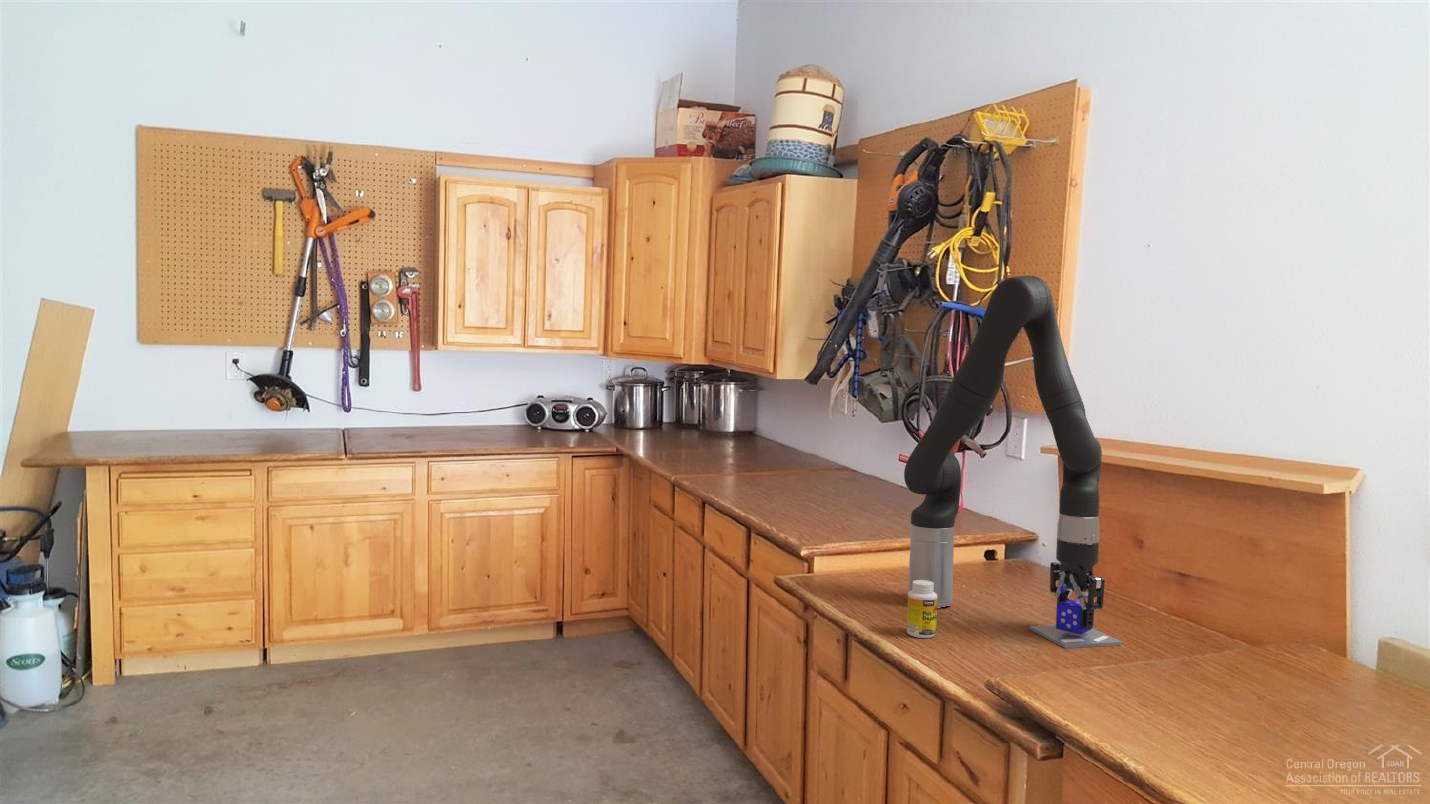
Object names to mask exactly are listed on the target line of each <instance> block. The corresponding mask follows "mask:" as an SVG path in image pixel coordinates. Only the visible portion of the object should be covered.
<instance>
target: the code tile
mask: <svg viewBox="0 0 1430 804" xmlns="http://www.w3.org/2000/svg"><path fill="white" fill-rule="evenodd" d="M1028 629H1029V630H1030V631H1032V632H1034V633H1035V634H1037V635H1039V636H1041V637H1042V638H1045V639H1047V640H1049V641H1051V642H1053V643H1054V644H1056V645H1059V647H1062V648H1064V649H1074V648H1075V649H1078V648H1093V647H1095V648H1096V647H1110V646H1111V647H1112V646H1113V647H1115V646H1123V641H1121V640H1120V639H1117V638H1115V637H1112V636H1111V635H1108V634H1106V633H1104V632H1102V631H1099V630H1098V629H1095V628H1094V627H1093V628H1092V629H1091V630H1089V631H1087V632H1085V633H1083V634H1076V633H1072V632H1068V631H1063V630H1059V629H1056V624H1053V625H1051V624H1050V625H1030V626H1028Z"/></svg>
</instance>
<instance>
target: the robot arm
mask: <svg viewBox="0 0 1430 804" xmlns="http://www.w3.org/2000/svg"><path fill="white" fill-rule="evenodd" d="M1048 285H1049V284H1047V282H1046V281H1044V279H1042V278H1040V277H1039V276H1035V275H1021V276H1020V275H1019V276H1012V277H1008V278H1005V279H1004V280H1002V281H1001V282H1000V283H999V284H997V286H996V287H995V288H994V290H993V291H992V293H991V296H990V298H989V301H988V303H987V307H986V309H985V310H984V311H985V312H984V314H983V317H982V319H981V322H980V325H979V327H978V329H977V332H976V334H975V336H974V338H973V341H972V342H971V344H970V346H969V347H968V349H967V352H966V353H965V355H964V357H963V359H962V361H961V363H960V365H959V367H958V369H957V371H956V373H954V376H953V378H952V380H951V382H950V384H949V386H948V387H947V391H946V393H945V394H944V397H943V399H942V401H941V402H940V405H939V407H938V409H937V410H936V413H935V414H934V416H933V418H932V420H931V422H930V424H929V426H928V427H927V429H926V431H925V432H924V433H923V435H922V437H921V438H920V440H919V441H918V442H917V444H916V446H915V447H914V449H913V451H912V452H911V453H910V455H909V457H908V459H907V461H906V463H905V465H904V472H903V477H904V483H905V485H906V487H907V489H908V490H909V491H910V492H912V493H914V494H917V495H925V496H924V500H923V501H922V503H921V504H919V506H917V507H915V508H914V509H912V511H911V514H910V539H909V540H910V543H909V561H908V563H909V565H908V566H909V567H908V592H909V591H911V590H912V584H913V581H915V580H927V581H931V582H933V583H934V589H933V590H934V591H933V592H935V593H936V594H937V607H943V606H947V605H950V604H951V603H952V604H953V586H954V585H953V582H954V554H955V553H954V551H955V547H954V546H955V522H956V517H957V515H958V513H959V508H960V498H961V497H960V496H961V485H962V469H961V464H960V461H959V460H958V458H957V457H956V455H955V454H953V453H952V452H951V451H952V449H953V448H954V447H955V445H956V444H957V443H958V442H959V441H960V440H961V439H962V438H963V437H964V436H965V435H966V434H968V433H969V432H970V431H971V430H972V429H973V428H974V427H976V426H977V425H978V424H979V423H980V422H981V421H982V419H983V418H984V417H985V416H986V415H987V414H988V412H989V410H990V409H991V407H992V405H993V404H994V401H995V399H996V397H997V396H998V394H999V391H1000V390H1001V388H1002V387H1001V386H1002V383H1003V379H1004V375H1005V374H1004V373H1005V366H1006V360H1007V356H1008V353H1009V350H1010V348H1011V346H1012V345H1013V343H1014V342H1015V340H1016V337H1018V334H1019V333H1020V331H1021V330H1022V328H1023V330H1024V332H1025V333H1026V336H1027V338H1028V341H1029V344H1030V348H1031V352H1032V359H1033V360H1032V361H1033V372H1034V382H1035V387H1036V391H1037V394H1038V397H1039V400H1040V401H1041V404H1042V408H1043V410H1044V412H1045V415H1046V418H1047V419H1048V422H1049V423H1050V426H1051V429H1052V434H1053V437H1054V440H1055V441H1054V442H1055V444H1056V447H1057V451H1058V454H1059V456H1060V459H1061V461H1062V485H1061V488H1060V493H1059V509H1058V510H1059V511H1058V512H1059V513H1058V519H1057V520H1058V521H1057V528H1056V529H1057V530H1056V532H1057V533H1056V554H1055V558H1056V560H1057V561H1056V562H1050V563H1049V565H1050V568H1049V569H1050V571H1049V576H1050V577H1049V578H1050V580H1049V590H1050V591H1049V592H1051V593H1053V594H1054V595H1055V596H1054V597H1055V598H1057V599H1056V604H1057V603H1060V602H1062V601H1065V600H1067V599H1070V596H1071V595H1072V593H1073V592H1074V595H1075V597H1076V598H1077V599H1078V601H1080V604H1081V607H1082V609H1081V620H1080V627H1081V628H1082V629H1084V630H1085V629H1092V628H1093V629H1094V622H1095V621H1094V618H1095V617H1094V616H1095V615H1094V614H1095V610H1100V609H1101V610H1102V609H1103V608H1104V594H1105V583H1106V582H1105V578H1104V577H1101V576H1095V573H1094V571H1093V570H1094V569H1093V568H1094V566H1095V565H1097V564H1098V563H1099V556H1100V555H1099V553H1100V552H1099V550H1100V548H1099V547H1100V520H1099V516H1100V491H1099V484H1100V475H1101V467H1102V457H1103V455H1102V446H1101V444H1100V442H1099V441H1098V440H1097V438H1095V436H1094V433H1093V430H1092V429H1091V425H1090V423H1089V421H1088V418H1087V415H1086V409H1085V405H1084V404H1085V403H1084V402H1083V399H1082V396H1081V395H1080V390H1079V389H1078V386H1077V383H1076V380H1075V377H1074V376H1073V373H1072V371H1071V368H1070V365H1069V361H1068V359H1067V358H1068V357H1067V355H1066V351H1065V348H1064V345H1063V340H1062V336H1061V332H1060V329H1059V324H1058V320H1057V314H1056V309H1055V303H1054V300H1053V296H1052V295H1053V294H1052V292H1051V288H1050V287H1049V286H1048ZM1087 591H1088V592H1087ZM1095 597H1096V599H1095ZM1086 599H1087V601H1086Z"/></svg>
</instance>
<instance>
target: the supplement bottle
mask: <svg viewBox="0 0 1430 804" xmlns="http://www.w3.org/2000/svg"><path fill="white" fill-rule="evenodd" d="M933 589H934V583H933V582H931V581H927V580H915V581H913V584H912V590H911V591H909V590H908V593H907V611H906V614H907V615H906V632H907V634H908V635H909V636H910V637H914V638H918V639H931V638H933V637H934V638H935V636H936V634H937V620H938V619H937V616H938V614H937V613H938V608H937V594H936V593H935V592H933V591H934V590H933Z"/></svg>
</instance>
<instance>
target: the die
mask: <svg viewBox="0 0 1430 804" xmlns="http://www.w3.org/2000/svg"><path fill="white" fill-rule="evenodd" d="M1081 609H1082V607H1081V604H1080V600H1074V599H1070V598H1068V599H1067V600H1065V601H1062V602H1060V603H1057V602H1056V612H1055V613H1056V616H1055V617H1056V619H1055V625H1056V629H1059V630H1063V631H1068V632H1072V633H1076V634H1083V633H1085V632H1087V631H1089V630H1091V629H1085V630H1084V629H1082V628H1081V627H1080V620H1081Z"/></svg>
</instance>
